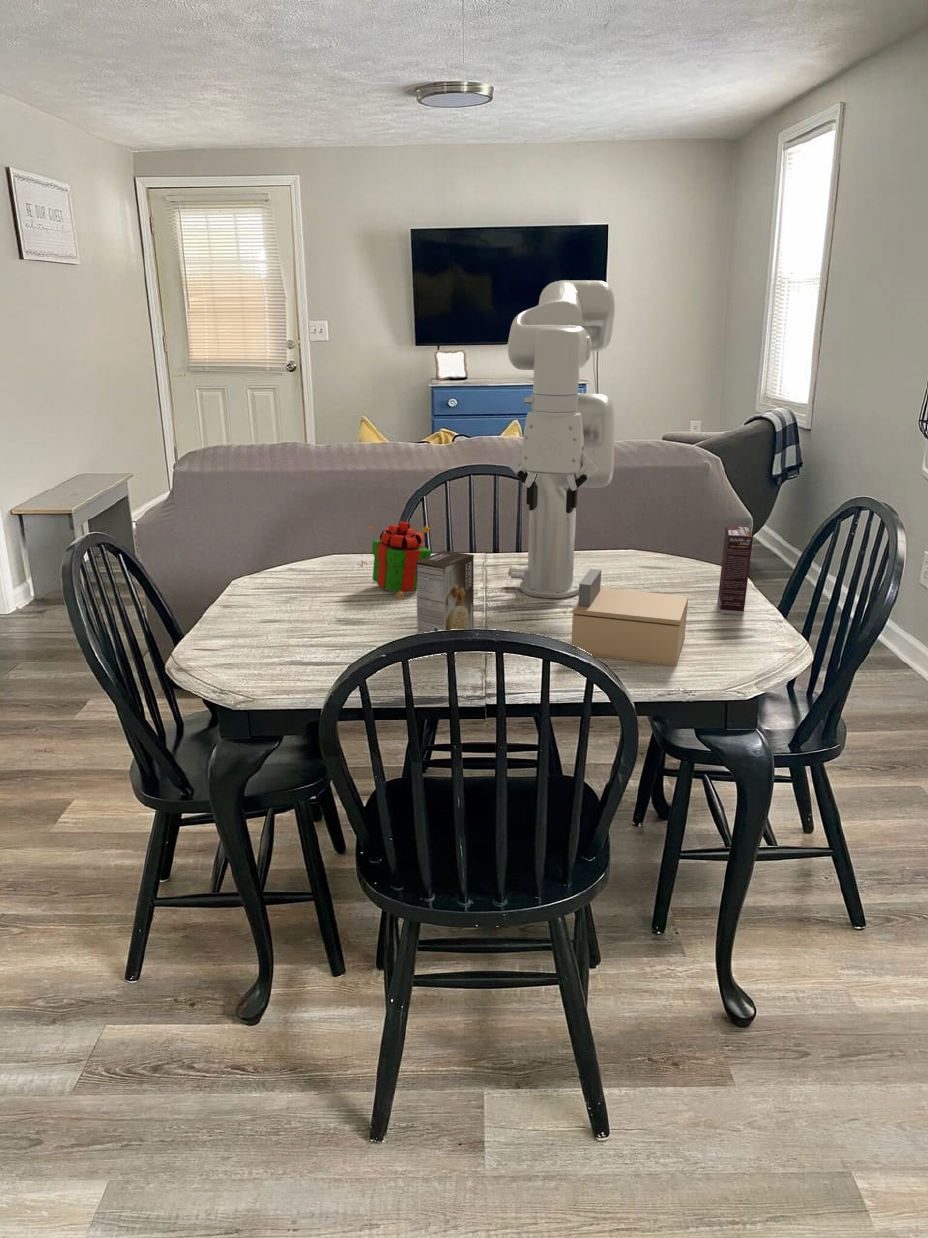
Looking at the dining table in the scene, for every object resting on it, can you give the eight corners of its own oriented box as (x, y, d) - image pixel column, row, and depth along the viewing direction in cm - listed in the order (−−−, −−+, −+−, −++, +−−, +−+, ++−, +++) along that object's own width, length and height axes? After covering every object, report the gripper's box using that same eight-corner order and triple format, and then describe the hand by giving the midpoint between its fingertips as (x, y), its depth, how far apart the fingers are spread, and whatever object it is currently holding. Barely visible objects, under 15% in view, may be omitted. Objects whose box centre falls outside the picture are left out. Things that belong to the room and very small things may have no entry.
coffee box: (444, 634, 170) (444, 549, 165) (474, 640, 167) (475, 554, 162) (416, 649, 163) (415, 560, 157) (446, 656, 160) (446, 566, 154)
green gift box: (453, 598, 197) (462, 532, 192) (376, 604, 186) (383, 534, 182) (405, 571, 212) (412, 509, 207) (331, 574, 201) (337, 510, 197)
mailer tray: (570, 653, 161) (572, 615, 159) (586, 627, 174) (588, 592, 171) (676, 666, 156) (679, 626, 153) (684, 638, 168) (687, 602, 166)
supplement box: (744, 616, 181) (753, 536, 175) (719, 614, 182) (727, 535, 176) (741, 602, 189) (749, 526, 183) (717, 601, 190) (724, 525, 184)
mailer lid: (572, 613, 159) (573, 586, 157) (588, 590, 171) (589, 565, 170) (679, 625, 153) (682, 597, 152) (687, 600, 166) (690, 574, 164)
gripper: (499, 405, 155) (497, 511, 161) (602, 409, 150) (596, 518, 156) (511, 400, 161) (509, 502, 167) (610, 404, 156) (604, 509, 162)
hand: (551, 509), depth 161 cm, fingers open, 5 cm apart
